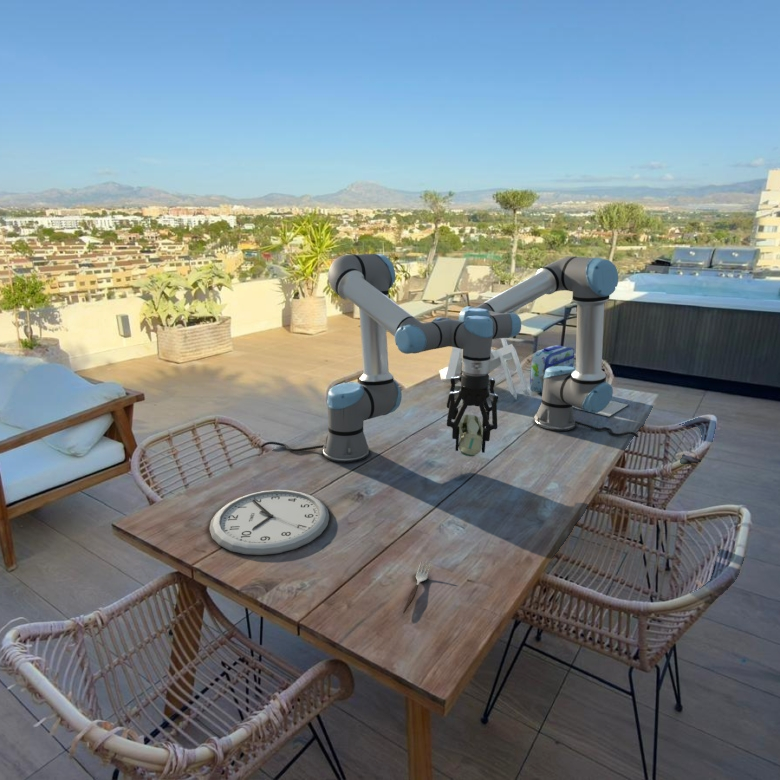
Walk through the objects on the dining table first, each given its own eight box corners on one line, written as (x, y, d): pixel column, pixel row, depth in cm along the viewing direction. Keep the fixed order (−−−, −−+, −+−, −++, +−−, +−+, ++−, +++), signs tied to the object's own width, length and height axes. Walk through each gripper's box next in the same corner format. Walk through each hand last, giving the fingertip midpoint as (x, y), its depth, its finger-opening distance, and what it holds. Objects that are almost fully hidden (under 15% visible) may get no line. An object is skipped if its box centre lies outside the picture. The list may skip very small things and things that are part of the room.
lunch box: (546, 398, 236) (551, 353, 229) (525, 393, 243) (529, 349, 237) (573, 387, 253) (579, 344, 247) (553, 382, 260) (558, 341, 254)
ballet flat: (481, 426, 170) (483, 403, 167) (488, 459, 147) (490, 432, 144) (455, 425, 171) (456, 402, 168) (458, 458, 147) (459, 431, 145)
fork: (396, 613, 103) (397, 605, 102) (420, 566, 117) (420, 559, 117) (409, 617, 102) (409, 608, 102) (431, 569, 116) (432, 561, 116)
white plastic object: (461, 429, 252) (437, 405, 227) (444, 352, 274) (420, 323, 250) (535, 404, 240) (518, 377, 215) (510, 326, 262) (492, 293, 237)
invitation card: (608, 416, 214) (573, 407, 224) (608, 416, 214) (573, 408, 224) (628, 404, 229) (594, 396, 238) (628, 405, 229) (594, 397, 238)
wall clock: (327, 546, 121) (194, 551, 119) (327, 552, 122) (195, 557, 119) (330, 485, 150) (223, 488, 147) (330, 490, 150) (224, 493, 148)
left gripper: (439, 374, 141) (435, 452, 148) (513, 378, 139) (505, 457, 146) (439, 367, 148) (436, 442, 155) (510, 371, 146) (503, 447, 153)
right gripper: (439, 361, 157) (436, 432, 164) (509, 364, 155) (503, 435, 162) (440, 355, 164) (437, 423, 171) (507, 358, 162) (501, 426, 169)
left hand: (469, 449), depth 151 cm, fingers closed on ballet flat, 7 cm apart
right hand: (469, 429), depth 166 cm, fingers closed on ballet flat, 8 cm apart
